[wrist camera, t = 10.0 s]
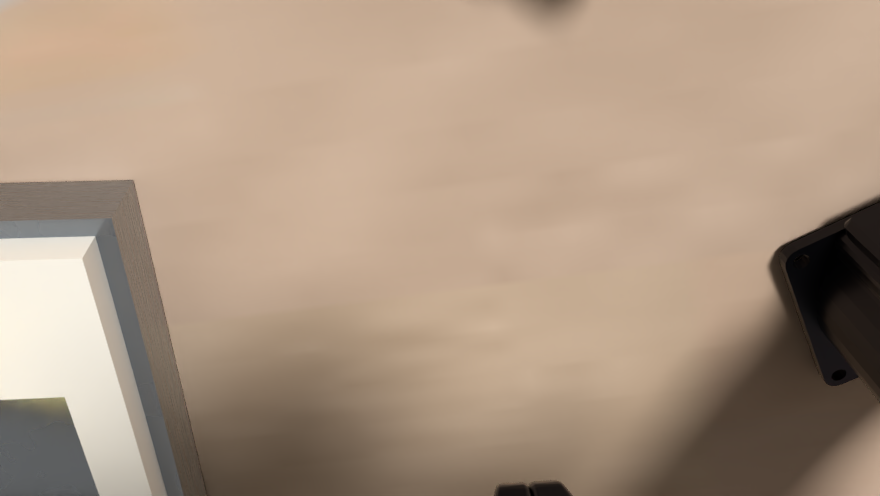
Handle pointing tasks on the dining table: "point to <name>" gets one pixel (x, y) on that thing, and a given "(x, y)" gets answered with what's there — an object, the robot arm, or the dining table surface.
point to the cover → (75, 356)
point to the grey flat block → (144, 331)
